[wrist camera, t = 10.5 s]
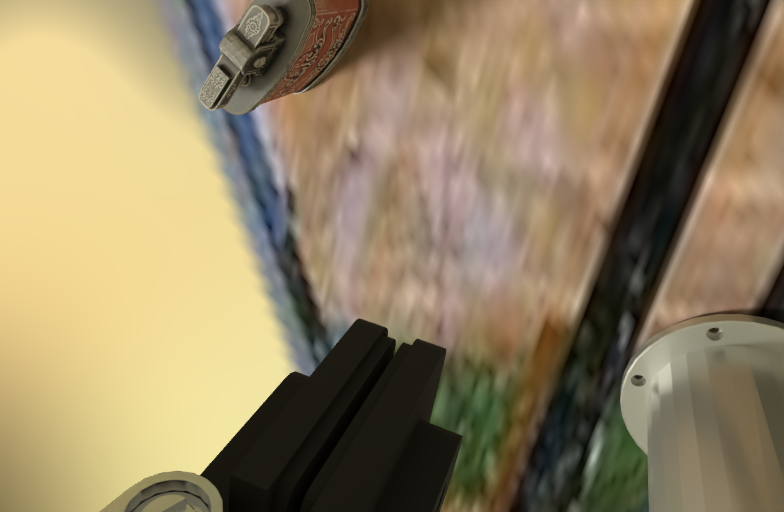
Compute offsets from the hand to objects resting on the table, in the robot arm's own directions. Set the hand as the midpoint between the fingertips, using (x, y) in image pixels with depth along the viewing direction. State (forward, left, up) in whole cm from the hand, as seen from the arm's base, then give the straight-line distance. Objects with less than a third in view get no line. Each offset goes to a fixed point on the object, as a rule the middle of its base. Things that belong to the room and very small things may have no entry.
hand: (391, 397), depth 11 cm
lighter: (+15, -1, -27) cm, 31 cm away
